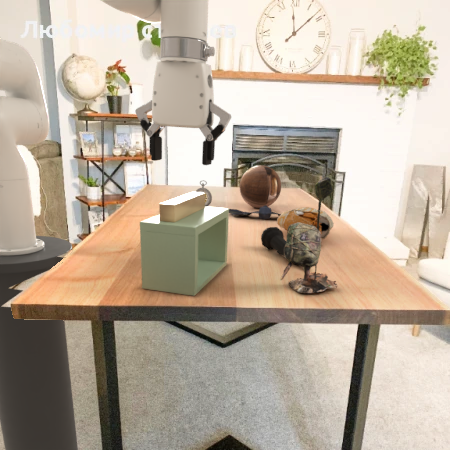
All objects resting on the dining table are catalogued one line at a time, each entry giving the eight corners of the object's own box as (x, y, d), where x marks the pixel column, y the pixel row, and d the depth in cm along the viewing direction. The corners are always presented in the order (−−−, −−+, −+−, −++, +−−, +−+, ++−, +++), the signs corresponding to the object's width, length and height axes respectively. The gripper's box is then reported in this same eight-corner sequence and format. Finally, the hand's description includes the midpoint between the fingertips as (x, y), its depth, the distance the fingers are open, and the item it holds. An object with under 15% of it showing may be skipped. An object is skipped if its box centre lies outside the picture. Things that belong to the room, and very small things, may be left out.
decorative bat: (218, 204, 139) (221, 202, 149) (217, 217, 141) (220, 214, 150) (313, 209, 137) (310, 206, 147) (311, 222, 139) (308, 219, 148)
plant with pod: (272, 280, 86) (281, 174, 78) (328, 280, 87) (342, 175, 80) (282, 295, 78) (293, 179, 71) (343, 295, 80) (360, 181, 72)
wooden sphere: (234, 204, 168) (235, 163, 162) (271, 204, 172) (274, 163, 166) (245, 211, 154) (247, 166, 149) (285, 211, 158) (289, 167, 153)
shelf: (141, 288, 79) (139, 221, 75) (182, 259, 97) (183, 204, 93) (194, 296, 76) (195, 227, 72) (226, 264, 94) (228, 208, 90)
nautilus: (340, 252, 109) (279, 252, 110) (327, 228, 128) (275, 228, 129) (344, 221, 106) (281, 221, 107) (329, 201, 125) (276, 201, 126)
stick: (159, 221, 76) (159, 203, 75) (191, 206, 90) (191, 191, 89) (174, 222, 75) (174, 204, 74) (204, 208, 89) (205, 192, 88)
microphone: (310, 282, 95) (272, 247, 111) (322, 258, 93) (281, 226, 109) (290, 276, 93) (253, 242, 109) (301, 252, 91) (263, 220, 107)
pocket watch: (189, 213, 147) (190, 182, 144) (186, 208, 155) (187, 179, 151) (214, 213, 149) (214, 182, 145) (209, 208, 157) (210, 179, 153)
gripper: (239, 58, 74) (233, 164, 81) (145, 56, 78) (146, 157, 85) (227, 51, 67) (221, 168, 74) (125, 49, 72) (127, 159, 78)
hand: (181, 162), depth 79 cm, fingers open, 9 cm apart
